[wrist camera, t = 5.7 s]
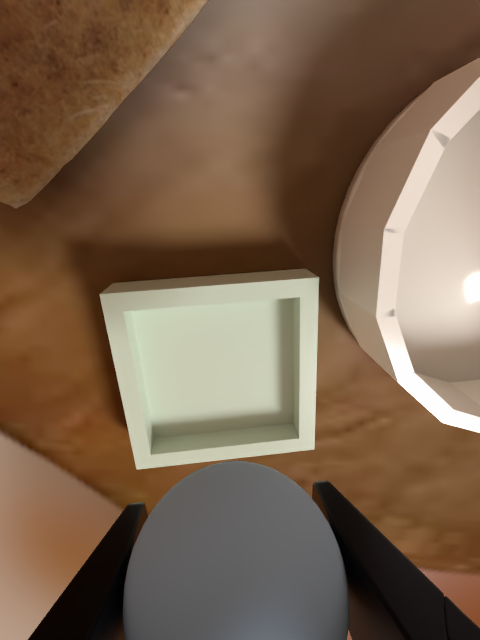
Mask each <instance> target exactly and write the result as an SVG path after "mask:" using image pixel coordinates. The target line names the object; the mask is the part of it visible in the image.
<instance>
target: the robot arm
mask: <svg viewBox="0 0 480 640" xmlns="http://www.w3.org/2000/svg"><path fill="white" fill-rule="evenodd" d="M312 500H313V501H314V502H315V503H316V504H317V506H318V507H319V509H320V510H321V512H322V513H323V515H324V516H325V518H326V520H327V521H328V523H329V525H330V527H331V529H332V531H333V534H334V536H335V538H336V541H337V543H338V545H339V548H340V551H341V555H342V558H343V562H344V566H345V571H346V577H347V582H348V591H349V626H348V629H349V632H350V635H351V637H352V640H480V628H479V627H478V626H477V625H476V624H474V623H473V622H472V620H470V619H469V618H468V617H467V616H466V615H465V614H464V613H463V612H462V611H461V610H460V609H459V608H458V607H457V606H456V605H455V604H454V603H453V602H452V601H451V600H450V599H449V598H448V597H446V596H445V597H444V594H443V593H442V592H441V591H440V590H439V589H438V588H437V587H436V586H435V585H434V584H433V583H432V582H431V581H430V580H429V579H428V578H427V577H426V576H425V575H424V574H423V573H422V572H421V571H420V570H419V569H418V568H417V567H416V566H415V565H414V564H413V563H412V562H411V561H410V560H409V559H408V558H407V557H406V556H405V555H404V554H403V553H402V552H401V551H399V550H398V549H397V548H396V547H395V546H394V545H393V544H392V543H391V542H390V541H389V540H388V539H387V538H386V537H385V536H384V535H383V534H382V533H381V532H380V531H379V530H378V529H377V528H376V527H375V526H374V525H373V524H372V523H371V522H370V521H369V520H368V519H367V518H366V517H365V516H364V515H363V514H362V513H361V512H360V511H359V510H358V509H357V508H356V507H355V506H353V505H352V504H351V503H350V502H349V501H348V500H347V499H346V498H345V497H344V496H343V495H342V494H341V493H340V492H339V491H338V490H337V489H336V488H335V487H334V486H333V485H332V484H331V483H330V482H329V481H318V482H314V483H313V490H312ZM147 518H148V515H147V510H146V506H145V504H144V503H143V502H140V503H131V504H129V505H128V506H127V507H126V508H125V509H124V511H123V512H122V513H121V515H120V516H119V518H118V519H117V520H116V521H115V523H114V524H113V525H112V527H111V528H110V530H109V531H108V532H107V534H106V535H105V536H104V538H103V539H102V540H101V542H100V543H99V545H98V546H97V547H96V548H95V550H94V551H93V552H92V554H91V555H90V557H89V558H88V559H87V561H86V562H85V563H84V565H83V566H82V567H81V569H80V570H79V571H78V573H77V574H76V575H75V577H74V578H73V579H72V581H71V582H70V583H69V585H68V586H67V588H66V589H65V590H64V592H63V593H62V594H61V596H60V597H59V598H58V600H57V601H56V602H55V604H54V605H53V606H52V608H51V609H50V611H49V612H48V613H47V614H46V616H45V617H44V618H43V620H42V621H41V623H40V624H39V625H38V627H37V628H36V629H35V631H34V632H33V633H32V635H31V636H30V637H29V639H28V640H125V637H124V626H123V596H124V585H125V579H126V573H127V569H128V564H129V561H130V557H131V554H132V550H133V547H134V545H135V543H136V540H137V538H138V536H139V534H140V531H141V529H142V527H143V525H144V523H145V522H146V520H147Z"/></svg>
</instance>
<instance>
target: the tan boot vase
mask: <svg viewBox="0 0 480 640" xmlns="http://www.w3.org/2000/svg"><path fill="white" fill-rule="evenodd" d="M207 1H208V0H0V202H1V203H4V204H8V205H10V206H12V207H13V208H15V209H16V208H18V207H20V206H23V205H25V204H27V203H28V202H29V201H30V200H31V199H32V198H34V197H35V196H36V195H37V194H38V193H39V192H40V191H41V190H42V189H43V188H44V187H45V186H46V185H47V184H48V183H49V182H50V181H51V180H52V179H53V178H54V177H55V176H56V174H57V173H58V172H59V171H60V170H61V168H62V167H63V166H64V165H65V164H67V163H68V162H69V161H70V160H72V159H73V158H74V157H75V156H76V155H77V154H78V153H79V151H80V150H81V149H82V148H83V147H84V146H85V145H86V144H87V143H88V141H89V140H90V139H91V138H92V137H93V136H94V135H95V134H96V133H97V131H98V130H99V129H100V128H101V127H102V126H103V125H104V124H105V122H106V121H107V120H108V119H109V118H110V116H111V115H112V114H113V113H114V112H115V110H116V109H117V108H118V107H119V105H120V104H121V103H122V102H123V101H124V99H125V98H126V97H127V96H128V95H129V94H130V93H131V92H132V91H133V90H134V89H135V88H136V86H137V85H138V84H139V83H140V82H141V81H142V80H143V79H144V78H145V77H146V75H147V74H148V73H149V72H150V71H151V70H152V69H153V68H154V67H155V65H156V64H157V63H158V62H159V61H160V60H161V58H162V57H163V56H164V55H165V54H166V53H167V51H168V50H169V49H170V48H171V47H172V45H173V44H174V43H175V42H176V41H177V39H178V38H179V37H180V36H181V35H182V34H183V32H184V31H185V30H186V29H187V28H188V26H189V25H190V24H191V23H192V21H193V20H194V19H195V17H196V16H197V15H198V13H199V12H200V11H201V9H202V8H203V7H204V5H205V4H206V3H207Z"/></svg>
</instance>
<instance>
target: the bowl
mask: <svg viewBox="0 0 480 640" xmlns="http://www.w3.org/2000/svg"><path fill="white" fill-rule="evenodd" d="M333 279H334V286H335V292H336V297H337V300H338V304H339V307H340V310H341V314H342V316H343V318H344V320H345V322H346V324H347V326H348V328H349V330H350V332H351V333H352V335H353V336H354V337H355V339H356V340H357V342H358V344H359V346H360V347H361V348H362V349H363V350H364V351H365V352H366V353H367V354H368V355H369V356H370V357H371V358H372V359H373V360H374V361H376V362H377V363H378V364H379V365H380V366H381V367H382V368H383V369H384V370H385V371H386V372H387V373H388V374H389V375H390V376H391V377H393V378H394V379H395V380H396V381H397V382H398V383H399V384H400V385H401V386H402V387H404V388H405V389H406V390H407V391H408V392H409V393H410V394H411V395H412V396H413V397H415V398H416V399H417V400H418V401H419V402H420V403H421V404H422V405H423V406H424V407H426V408H427V409H428V410H429V411H430V412H431V413H432V414H433V415H434V416H435V417H436V418H438V419H439V420H440V421H441V422H442V423H445V424H449V425H452V426H456V427H460V428H464V429H467V430H471V431H475V432H479V433H480V57H479V58H477V59H476V60H474V61H472V62H470V63H468V64H466V65H465V66H463V67H461V68H459V69H457V70H455V71H454V72H452V73H450V74H448V75H446V76H444V77H442V78H441V79H439V80H437V81H435V82H434V83H433V84H432V85H431V86H430V87H429V88H428V89H427V90H425V91H424V92H423V93H421V94H420V95H419V96H418V97H416V98H415V99H414V100H413V101H411V102H410V103H409V104H408V105H407V106H406V107H405V108H404V109H403V110H402V111H401V112H400V113H399V114H398V115H397V116H396V117H395V118H394V119H393V120H392V121H391V122H390V123H389V124H388V125H387V127H386V128H385V129H384V130H383V132H382V133H381V134H380V135H379V137H378V138H377V139H376V141H375V142H374V143H373V145H372V146H371V148H370V149H369V151H368V152H367V154H366V156H365V157H364V159H363V160H362V162H361V164H360V165H359V167H358V169H357V171H356V173H355V175H354V177H353V179H352V182H351V184H350V186H349V188H348V190H347V193H346V196H345V199H344V202H343V204H342V207H341V210H340V214H339V218H338V223H337V227H336V231H335V238H334V247H333Z"/></svg>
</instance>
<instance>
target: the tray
mask: <svg viewBox="0 0 480 640" xmlns="http://www.w3.org/2000/svg"><path fill="white" fill-rule="evenodd" d="M99 295H100V300H101V305H102V309H103V314H104V319H105V323H106V328H107V333H108V337H109V342H110V347H111V351H112V356H113V361H114V365H115V370H116V375H117V380H118V384H119V389H120V394H121V398H122V403H123V408H124V412H125V417H126V422H127V426H128V431H129V436H130V441H131V445H132V450H133V455H134V459H135V464H136V469H146V468H155V467H163V466H172V465H181V464H190V463H199V462H208V461H216V460H225V459H234V458H243V457H252V456H261V455H269V454H278V453H287V452H296V451H305V450H314V445H315V408H316V371H317V334H318V297H319V277H318V276H316V275H315V274H313V273H312V272H310V271H309V270H307V269H306V268H305V269H292V270H278V271H265V272H252V273H239V274H225V275H212V276H199V277H186V278H172V279H159V280H146V281H132V282H119V283H113V284H111V285H110V286H109V287H108V288H106V289H105V290H104V291H103V292H102V293H100V294H99Z"/></svg>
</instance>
